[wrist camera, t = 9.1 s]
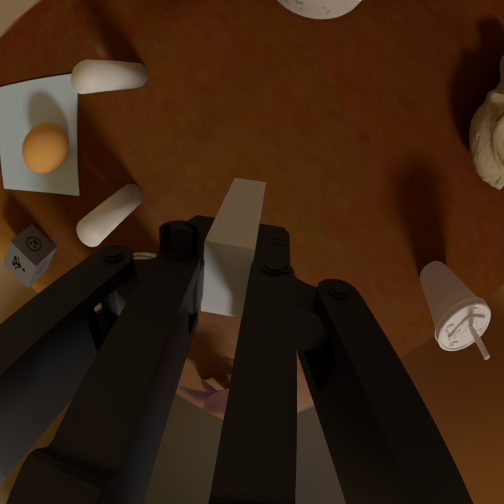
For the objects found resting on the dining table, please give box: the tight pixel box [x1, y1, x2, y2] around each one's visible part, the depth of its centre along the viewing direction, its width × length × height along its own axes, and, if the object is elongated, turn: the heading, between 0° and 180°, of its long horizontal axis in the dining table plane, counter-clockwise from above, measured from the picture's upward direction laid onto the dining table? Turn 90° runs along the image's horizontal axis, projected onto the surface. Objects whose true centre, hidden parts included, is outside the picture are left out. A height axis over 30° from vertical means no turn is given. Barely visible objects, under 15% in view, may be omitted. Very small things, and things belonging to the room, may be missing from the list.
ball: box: [22, 122, 69, 174], centre depth 26 cm, size 6×6×6 cm
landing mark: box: [0, 74, 80, 196], centre depth 28 cm, size 14×14×1 cm
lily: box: [177, 379, 229, 415], centre depth 41 cm, size 12×12×10 cm
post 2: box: [76, 184, 143, 247], centre depth 27 cm, size 3×3×9 cm
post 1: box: [71, 60, 148, 94], centre depth 21 cm, size 3×3×9 cm
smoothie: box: [420, 261, 491, 360], centre depth 27 cm, size 6×6×14 cm
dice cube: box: [4, 224, 57, 288], centre depth 34 cm, size 5×5×5 cm
